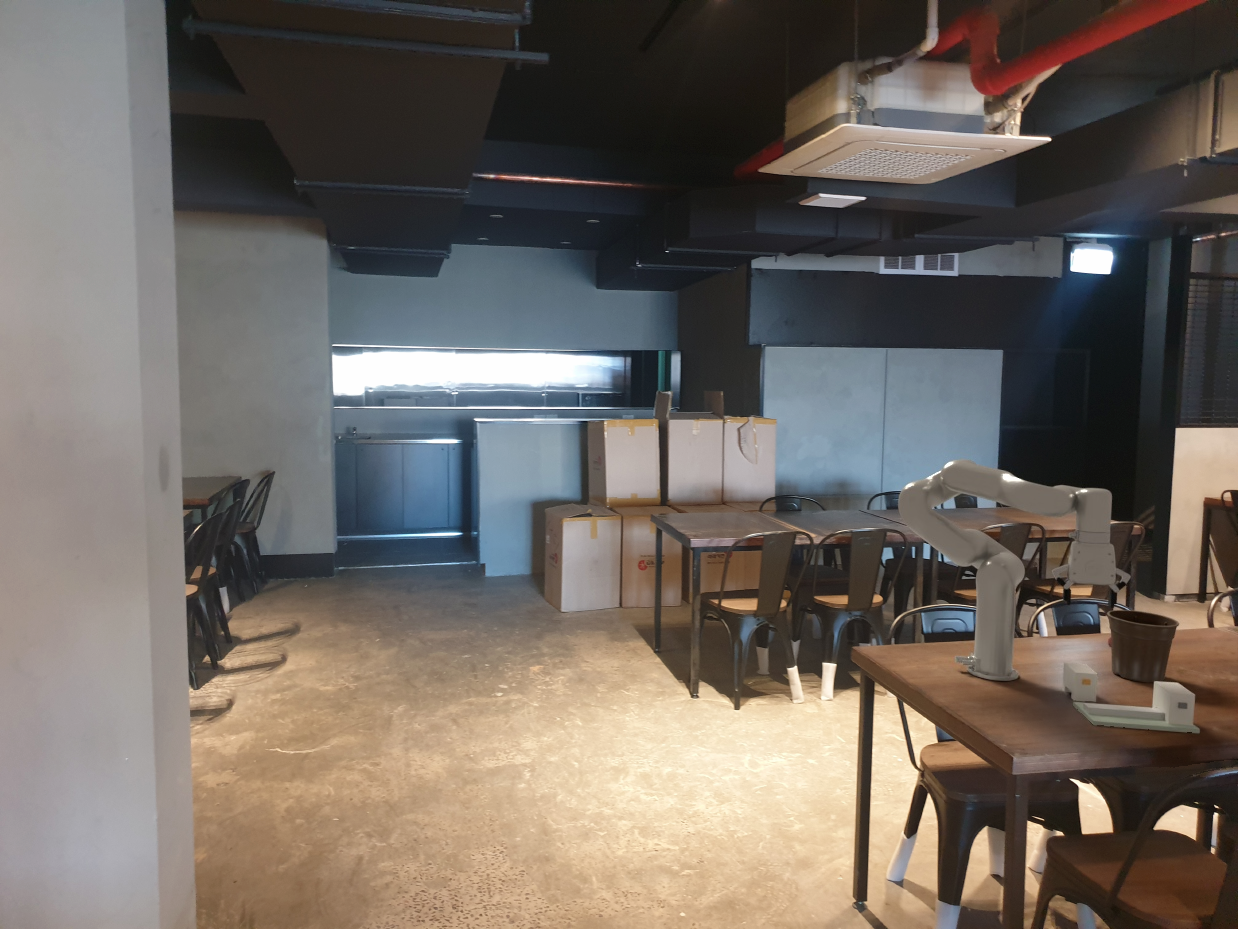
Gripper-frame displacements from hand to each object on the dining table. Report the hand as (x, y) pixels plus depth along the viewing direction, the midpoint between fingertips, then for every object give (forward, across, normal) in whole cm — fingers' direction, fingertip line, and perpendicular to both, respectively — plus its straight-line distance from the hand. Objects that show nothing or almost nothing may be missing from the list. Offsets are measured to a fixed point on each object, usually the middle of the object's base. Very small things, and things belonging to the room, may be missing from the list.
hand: (1089, 605), depth 208 cm
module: (+22, -2, -3) cm, 23 cm away
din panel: (+23, +7, -16) cm, 28 cm away
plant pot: (+23, +17, +20) cm, 35 cm away
